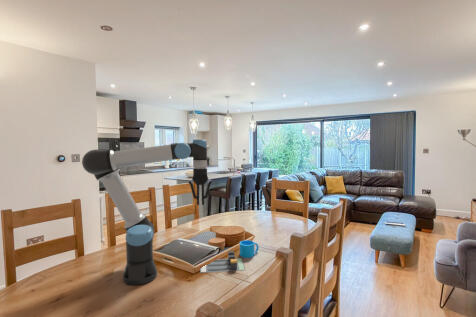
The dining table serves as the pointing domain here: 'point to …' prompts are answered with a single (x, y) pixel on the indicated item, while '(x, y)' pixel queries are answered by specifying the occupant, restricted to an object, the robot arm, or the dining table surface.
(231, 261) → the breaker
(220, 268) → the panel
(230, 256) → the breaker
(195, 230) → the dining table surface
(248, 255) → the mug
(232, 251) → the block
